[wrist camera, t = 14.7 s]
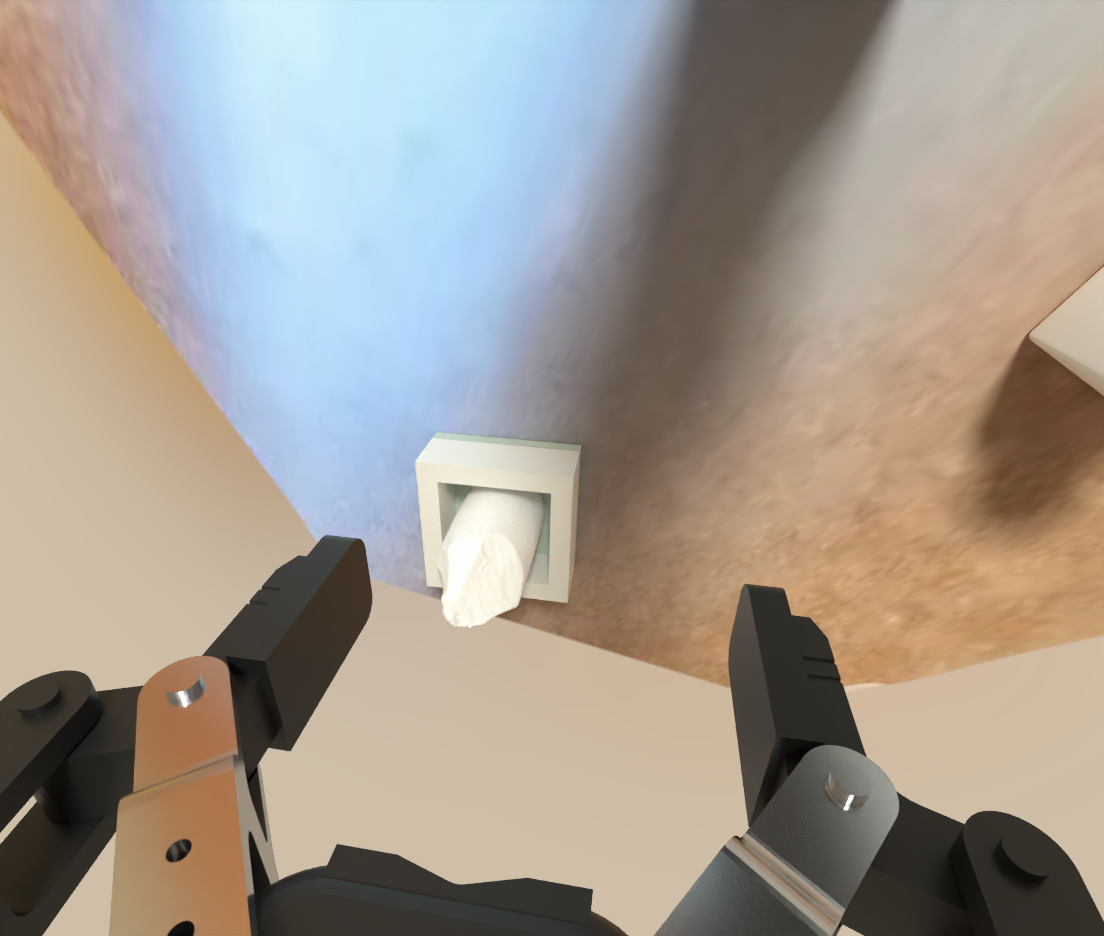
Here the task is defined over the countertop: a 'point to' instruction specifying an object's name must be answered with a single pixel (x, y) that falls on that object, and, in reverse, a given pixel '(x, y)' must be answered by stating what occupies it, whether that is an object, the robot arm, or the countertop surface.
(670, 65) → the countertop surface
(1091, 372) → the medicine bottle
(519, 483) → the socket
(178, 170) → the countertop surface
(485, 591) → the roll
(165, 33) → the countertop surface
